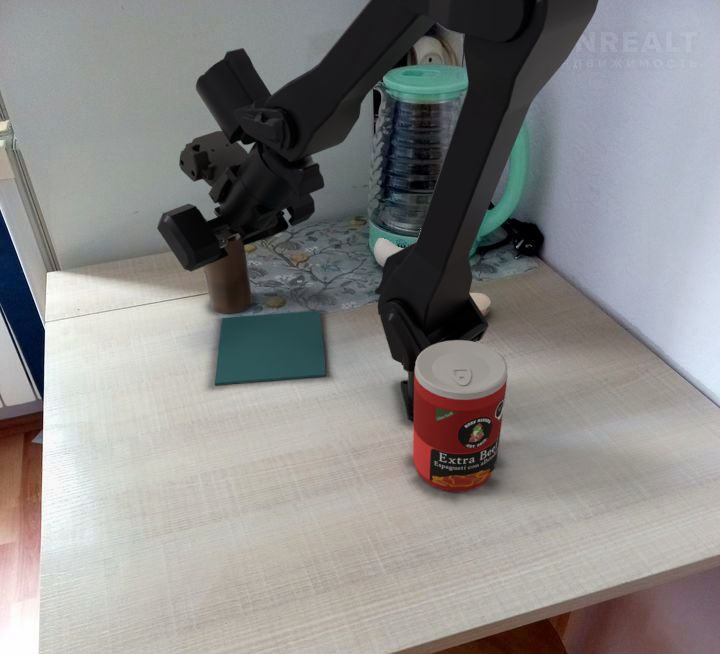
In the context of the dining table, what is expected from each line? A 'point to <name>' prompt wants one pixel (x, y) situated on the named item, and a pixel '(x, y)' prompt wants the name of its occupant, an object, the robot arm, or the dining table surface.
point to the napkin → (270, 348)
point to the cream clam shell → (481, 302)
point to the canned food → (458, 413)
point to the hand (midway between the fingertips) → (216, 251)
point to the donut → (384, 250)
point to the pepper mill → (230, 279)
